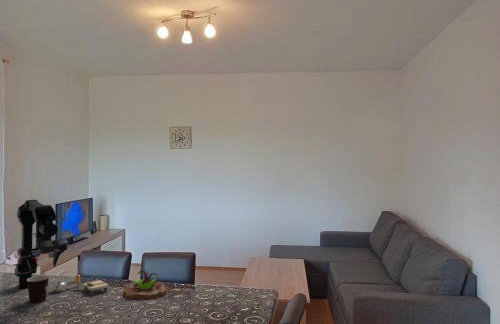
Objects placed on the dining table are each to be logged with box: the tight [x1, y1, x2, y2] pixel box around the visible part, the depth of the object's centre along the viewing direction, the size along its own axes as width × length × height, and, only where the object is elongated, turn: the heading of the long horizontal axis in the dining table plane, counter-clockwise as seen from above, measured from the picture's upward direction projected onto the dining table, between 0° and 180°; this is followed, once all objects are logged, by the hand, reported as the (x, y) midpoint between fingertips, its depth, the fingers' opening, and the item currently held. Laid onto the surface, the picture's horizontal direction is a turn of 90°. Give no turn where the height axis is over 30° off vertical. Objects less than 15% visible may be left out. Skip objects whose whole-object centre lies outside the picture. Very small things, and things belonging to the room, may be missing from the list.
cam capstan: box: [52, 274, 81, 293], centre depth 179 cm, size 12×6×5 cm, turn 135°
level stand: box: [69, 279, 109, 296], centre depth 176 cm, size 15×13×5 cm
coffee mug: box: [27, 275, 50, 304], centre depth 165 cm, size 12×9×10 cm
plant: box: [122, 269, 168, 301], centre depth 175 cm, size 20×20×11 cm
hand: (43, 268), depth 163 cm, fingers open, 9 cm apart
